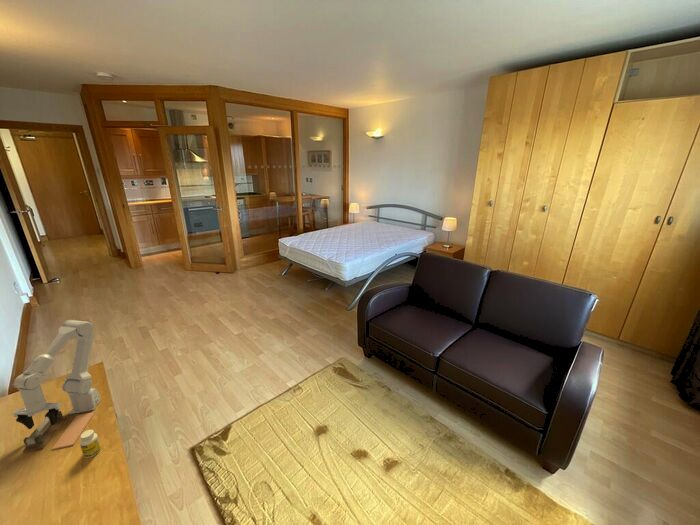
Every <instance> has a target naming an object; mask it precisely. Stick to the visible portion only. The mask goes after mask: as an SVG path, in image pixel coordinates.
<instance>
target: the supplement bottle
mask: <svg viewBox="0 0 700 525" xmlns="http://www.w3.org/2000/svg"><path fill="white" fill-rule="evenodd" d="M98 436H99V435H98V434H97V433H95V430H94V429H87V430H85V431H83V432H82V433H81V435H80V436H79V438H80V439H79V440H80V441H79V447H80V449H81V453H82V456H83V457H84V458H85V459H87V458H89V459H90V458H92V457H94V456H96V455H97V454H98V453H99V452H100V451H101V449H102V446H101V443H100V439H99V437H98Z"/></svg>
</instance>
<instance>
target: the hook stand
mask: <svg viewBox="0 0 700 525" xmlns="http://www.w3.org/2000/svg"><path fill="white" fill-rule="evenodd" d="M45 415H46V413H45ZM45 415H44V419H45V418H46V416H45ZM67 418H68V417H67V415H63V412H62V411H61V410H58V414H57V422H56V423H55V424H54V425H50V426H49V427H48V428H47V430H46V431H45V432H44V433H43V435H42V434H41V435H38V436H37V440H38V441H37V442H36V443H35V444H31V445H27V442H26V440H27V439H28V437H29V436H27V437H26V436H25V437H24V438H23V440H22V441H23V444H24V446H25V448H24V449H23V450H22V453H23V454H27V453H28V454H29V453H31V452H37V451H42V450H43V449H44V448H45V446H47V444H48V443H49V442H50V440H51V439H52V438H53V436H54V435H55V434H56V432H57V431H58V430H59V428H60V427H61V426H62V425H63V423H64V422H65V421H66V419H67Z"/></svg>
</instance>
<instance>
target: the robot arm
mask: <svg viewBox="0 0 700 525" xmlns="http://www.w3.org/2000/svg"><path fill="white" fill-rule="evenodd" d="M94 326H95V325H94V324H92V322H90V321H87V320H85V321H83V320H76V319H67V320H65V321H64V322H63V323H62V325H61V326H59V328H58V333H57V335H56V336H55V338H54V339H53V340H52V342H51V343H50V344H49V346H48V347H47V349H46V350H45V351H44V353H43V354H40V355H37V357H36V358H34V359H33V360H32V363H30V365H29V366H28V367H27V369H25V371H23V373H21V374H19V375H18V376H17V377H16V378H15V379H14V380H13V384H12V387H13V388H14V389H17V390H18V391H19V394H20V397H21V399H22V402H23V405H24V408H19V409H16V410H15V411H13V413H12V415H13V417H14V418H16V417H17V418H16V419H15V422H17V423H19V424H21V425H24V427H26V428H27V429H28V430H32V429H33V427H34V426H35V422H34V418H33V416H35V415H37V414H39V413H40V414H41V413H43V412H46V411H47V412H46V413H45V414H46V415H44V417H45V416H47V417H48V418H49V420H50V423H51V425H54V424H55V423H56V422H57V414H58V411H60V408H61V407H62V404H61V402H47V401H46V400H47V399H46V398H45V394H44V392H43V388H42V385H41V384H42V383H43V381H44V375H45V373H46V371H47V370H48V369H49V368H50V366H52V364H54V362H55V360H54V359H55V358H54V357H55V355H56V354H57V353H58V352H59V351H60V350H61V349H63V348H62V347H64V346H65V345H66V344H67V342H69V341H70V340H73V339H77V344H76V348H75V351H74V352H75V353H74V359H73V364H72V369H71V373H70V374H67V376H65V380H64V382H63V384H62V387H61V389H62V391H63V392H65V393H66V392H67V394H68V397H69V400H70V403H71V406H72V409H71V410H70V412H69V413H68V414H69V415H75V414H80V413H85V412H89V411H94V410H95V409H96V407H97V406H98V404H99V402H100V401H101V400H102V399H101V398H102V397H100V393H99V391H98V388H96V387H95V388H94V387H93V388H92V386H93V380H92V379H93V378H92V375H91V374H90V373H89V372H88V370H89V363H90V359H91V353H92V349H93V348H92V347H93V342H94V336H95V334H94Z"/></svg>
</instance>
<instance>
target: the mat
mask: <svg viewBox="0 0 700 525" xmlns="http://www.w3.org/2000/svg"><path fill="white" fill-rule="evenodd" d="M95 414H96V412H95V411H93V412H87V413H82V414H76V415H75V417H73V419H72V421H71V423H69V424H68V426H67V427H66V429H65V431H64V432H63V433H62V434H61V436H60V437H59V438H58V440H57V442H56V443H55V444H54V445H53V447H52V448H51V450H52V451H55V450H58V449H64V448H68V447H71V446H75V444H76V442H77V441H78V439H79V438H80V436H81V434H82V433H83V432H84V430H86V427H87V426H88V424H90V421H91V420H92V419H93V417H94V415H95Z"/></svg>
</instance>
